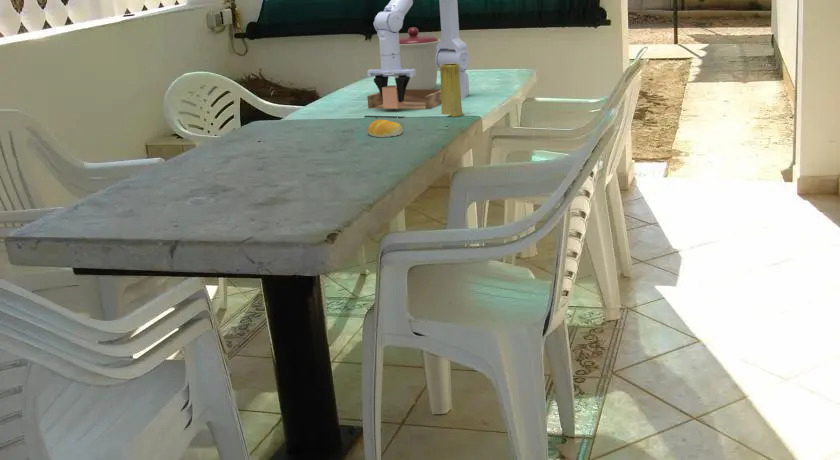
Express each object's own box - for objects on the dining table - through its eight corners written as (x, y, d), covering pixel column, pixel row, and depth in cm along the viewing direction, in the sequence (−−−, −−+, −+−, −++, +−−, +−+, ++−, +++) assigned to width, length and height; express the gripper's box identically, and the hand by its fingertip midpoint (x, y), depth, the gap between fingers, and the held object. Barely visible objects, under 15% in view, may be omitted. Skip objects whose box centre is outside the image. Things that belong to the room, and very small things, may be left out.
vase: (463, 113, 252) (461, 62, 248) (462, 116, 246) (459, 65, 242) (441, 114, 253) (439, 63, 248) (440, 117, 247) (437, 66, 243)
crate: (388, 103, 278) (387, 88, 276) (447, 103, 269) (447, 89, 268) (368, 110, 265) (367, 95, 264) (429, 111, 257) (428, 96, 256)
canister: (381, 90, 305) (377, 28, 299) (429, 85, 312) (425, 24, 306) (403, 96, 289) (399, 30, 283) (452, 90, 297) (449, 26, 290)
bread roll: (384, 139, 222) (383, 124, 221) (363, 136, 229) (362, 120, 228) (409, 134, 227) (408, 118, 226) (388, 130, 234) (387, 115, 233)
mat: (379, 111, 263) (379, 110, 263) (416, 111, 258) (416, 110, 258) (364, 117, 255) (364, 116, 255) (401, 118, 250) (401, 117, 250)
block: (390, 105, 261) (388, 85, 259) (403, 105, 259) (402, 85, 257) (383, 108, 257) (382, 87, 255) (397, 108, 255) (396, 87, 254)
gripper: (361, 56, 253) (364, 103, 257) (407, 55, 247) (410, 104, 251) (372, 53, 259) (375, 99, 263) (417, 52, 253) (420, 100, 257)
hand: (393, 101), depth 258 cm, fingers closed on block, 4 cm apart
